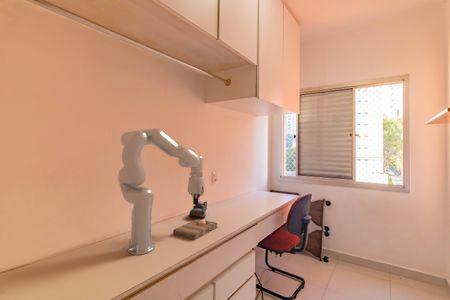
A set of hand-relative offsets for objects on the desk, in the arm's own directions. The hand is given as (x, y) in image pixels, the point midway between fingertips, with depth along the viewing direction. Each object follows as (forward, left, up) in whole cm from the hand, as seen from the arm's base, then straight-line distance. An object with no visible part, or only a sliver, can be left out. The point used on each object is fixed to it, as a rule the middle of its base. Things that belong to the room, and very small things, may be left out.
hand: (195, 204), depth 142 cm
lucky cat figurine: (+23, +15, -17) cm, 32 cm away
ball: (+5, -1, -14) cm, 15 cm away
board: (-1, -2, -16) cm, 16 cm away
